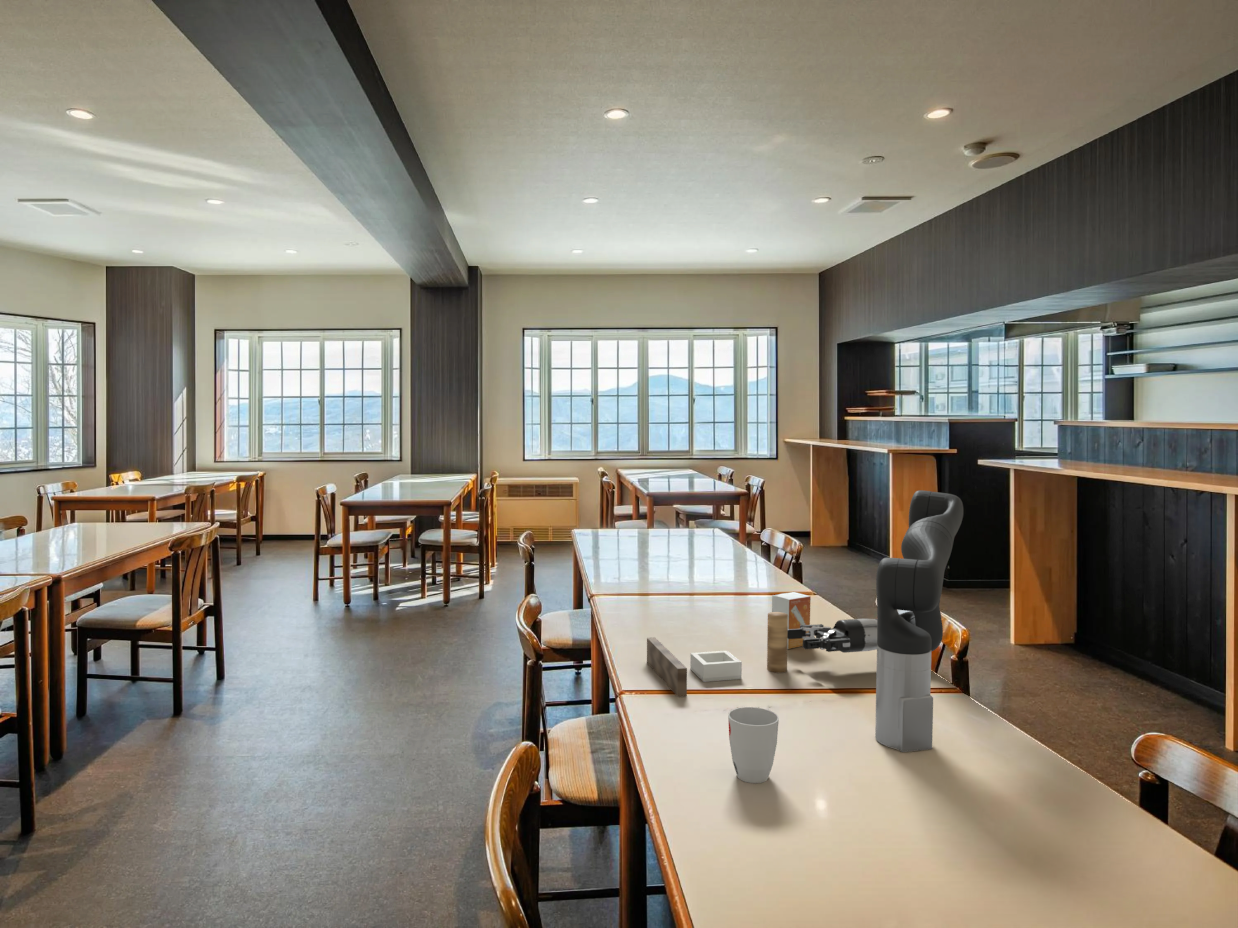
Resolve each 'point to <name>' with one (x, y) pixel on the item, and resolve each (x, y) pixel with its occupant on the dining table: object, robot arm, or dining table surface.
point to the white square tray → (715, 666)
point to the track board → (667, 666)
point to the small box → (793, 612)
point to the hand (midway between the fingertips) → (795, 639)
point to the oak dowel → (777, 642)
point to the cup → (753, 742)
